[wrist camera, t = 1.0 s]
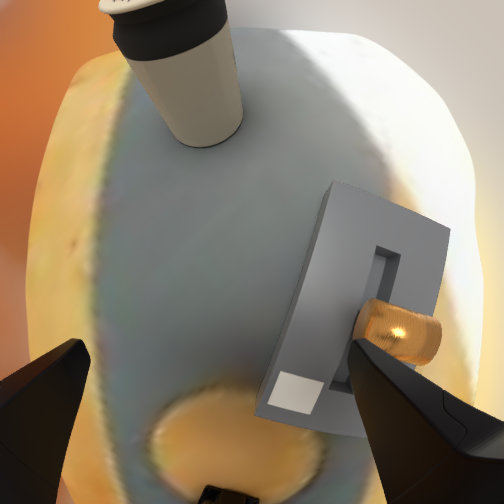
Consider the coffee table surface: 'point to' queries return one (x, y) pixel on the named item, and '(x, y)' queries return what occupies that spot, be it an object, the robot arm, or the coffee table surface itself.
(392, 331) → the lever handle
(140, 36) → the travel mug
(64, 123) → the coffee table surface
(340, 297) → the block
